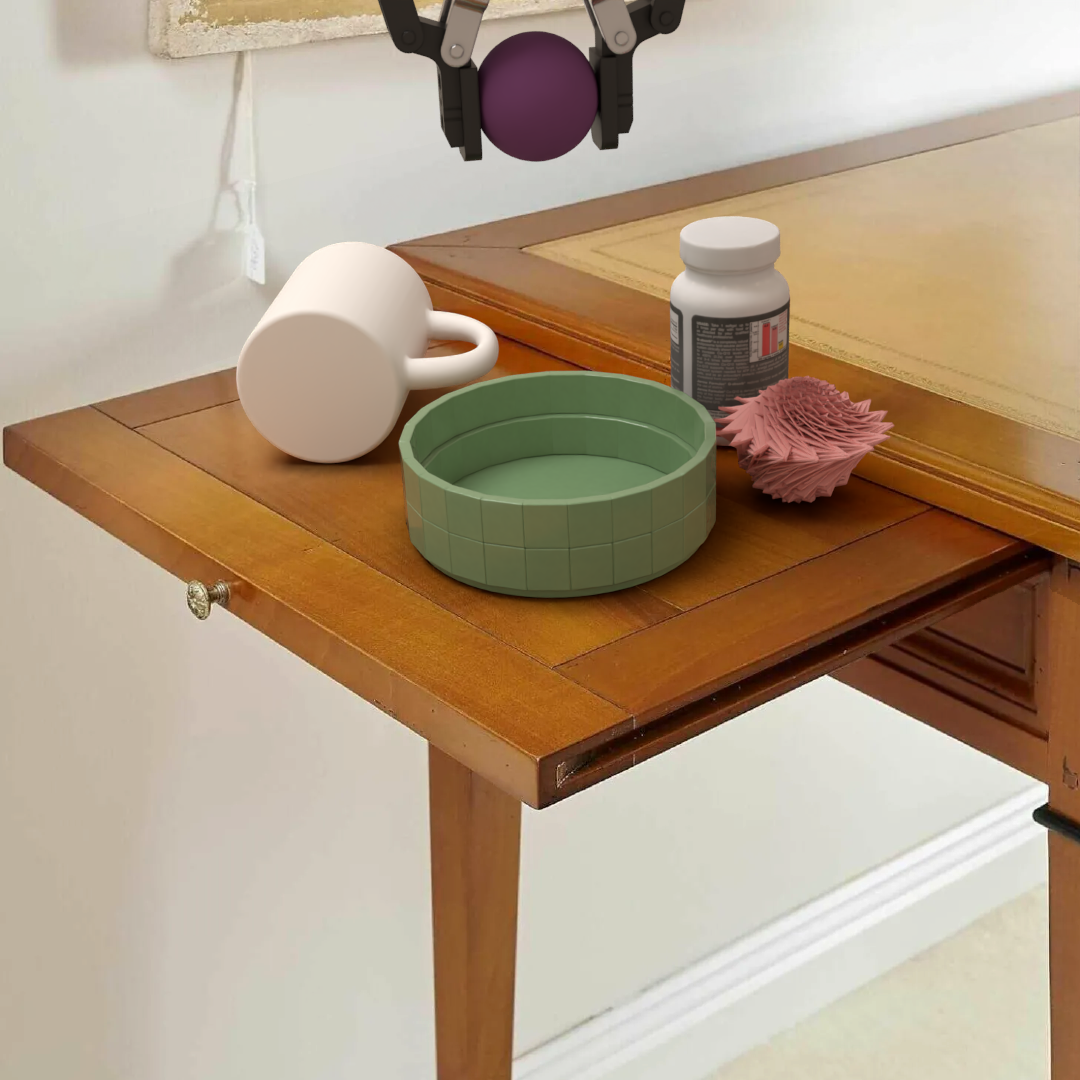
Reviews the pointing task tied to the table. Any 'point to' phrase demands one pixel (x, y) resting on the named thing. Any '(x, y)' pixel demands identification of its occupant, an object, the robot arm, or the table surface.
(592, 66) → the robot arm
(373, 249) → the mug
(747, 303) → the pill bottle
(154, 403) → the table surface
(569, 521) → the bowl
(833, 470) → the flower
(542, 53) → the ball
